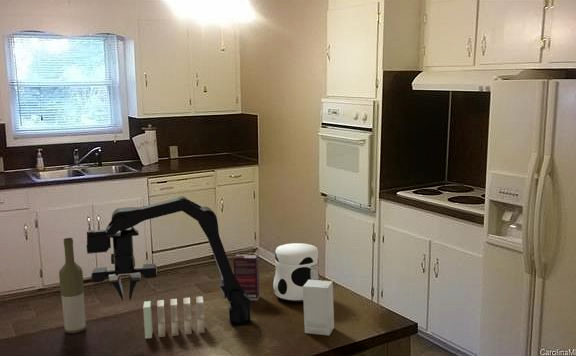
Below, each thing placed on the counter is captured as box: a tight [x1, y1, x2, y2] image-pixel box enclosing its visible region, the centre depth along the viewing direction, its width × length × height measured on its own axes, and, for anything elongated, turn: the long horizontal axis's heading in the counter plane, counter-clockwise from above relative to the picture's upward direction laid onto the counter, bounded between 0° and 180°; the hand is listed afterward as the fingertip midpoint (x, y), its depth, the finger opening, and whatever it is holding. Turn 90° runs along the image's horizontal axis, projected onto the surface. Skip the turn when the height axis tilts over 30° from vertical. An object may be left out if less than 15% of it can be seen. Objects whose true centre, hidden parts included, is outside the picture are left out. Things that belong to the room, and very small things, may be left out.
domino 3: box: [169, 298, 180, 337], centre depth 174 cm, size 2×5×10 cm, turn 12°
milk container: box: [272, 242, 321, 303], centre depth 202 cm, size 17×17×18 cm
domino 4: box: [182, 297, 193, 335], centre depth 175 cm, size 2×5×10 cm, turn 12°
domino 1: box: [142, 300, 153, 339], centre depth 173 cm, size 2×5×10 cm, turn 12°
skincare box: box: [303, 279, 335, 336], centre depth 173 cm, size 8×7×16 cm
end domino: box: [195, 295, 206, 334], centre depth 176 cm, size 2×5×10 cm, turn 12°
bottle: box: [58, 237, 87, 334], centre depth 175 cm, size 7×7×30 cm
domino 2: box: [156, 299, 166, 338], centre depth 174 cm, size 2×5×10 cm, turn 12°
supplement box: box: [232, 254, 260, 301], centre depth 202 cm, size 9×5×16 cm, turn 84°
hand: (126, 299), depth 170 cm, fingers closed
